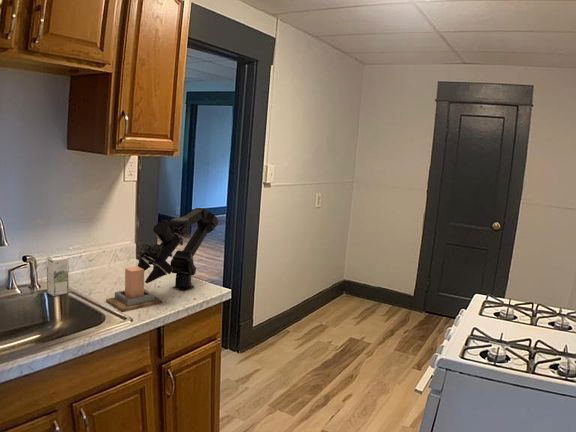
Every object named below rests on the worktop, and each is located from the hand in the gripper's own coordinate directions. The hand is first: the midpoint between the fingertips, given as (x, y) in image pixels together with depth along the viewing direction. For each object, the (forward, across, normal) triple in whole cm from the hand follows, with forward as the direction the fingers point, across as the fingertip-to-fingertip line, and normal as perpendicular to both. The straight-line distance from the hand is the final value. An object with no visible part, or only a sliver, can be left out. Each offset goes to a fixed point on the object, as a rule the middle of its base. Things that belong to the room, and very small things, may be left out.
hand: (140, 279), depth 174 cm
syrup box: (+21, -25, -9) cm, 34 cm away
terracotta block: (+7, 0, +4) cm, 8 cm away
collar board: (+8, 0, +4) cm, 9 cm away
